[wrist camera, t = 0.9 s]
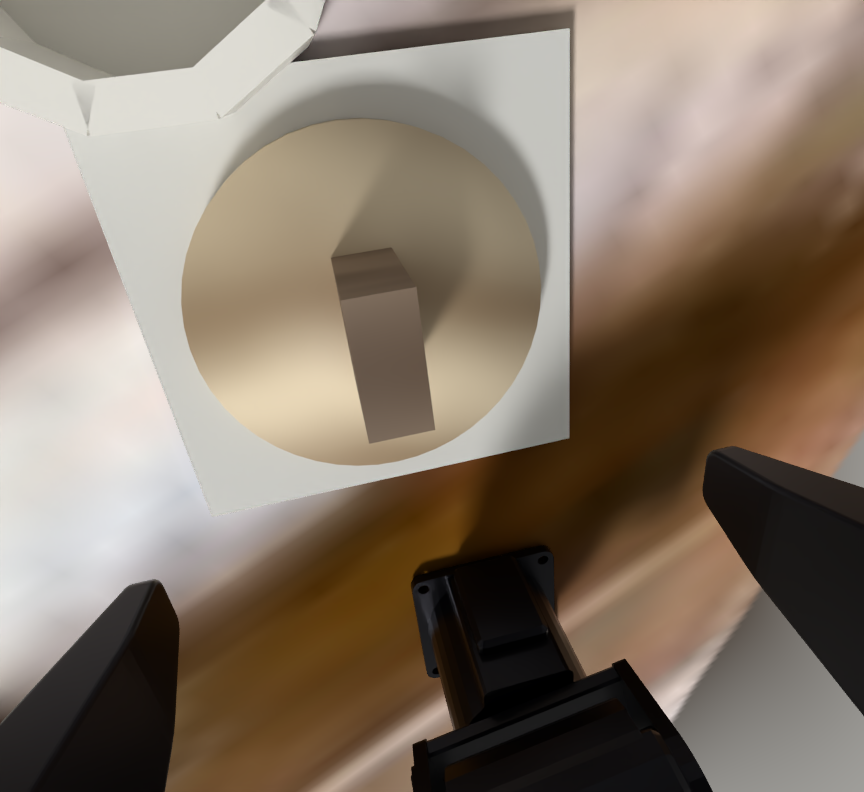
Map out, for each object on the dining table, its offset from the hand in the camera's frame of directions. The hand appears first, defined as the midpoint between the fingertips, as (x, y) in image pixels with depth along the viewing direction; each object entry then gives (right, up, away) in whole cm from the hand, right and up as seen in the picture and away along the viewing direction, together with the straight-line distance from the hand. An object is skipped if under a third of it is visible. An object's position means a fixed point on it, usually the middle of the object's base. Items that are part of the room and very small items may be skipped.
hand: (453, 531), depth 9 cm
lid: (-2, +5, +10) cm, 11 cm away
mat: (-3, +5, +10) cm, 12 cm away
